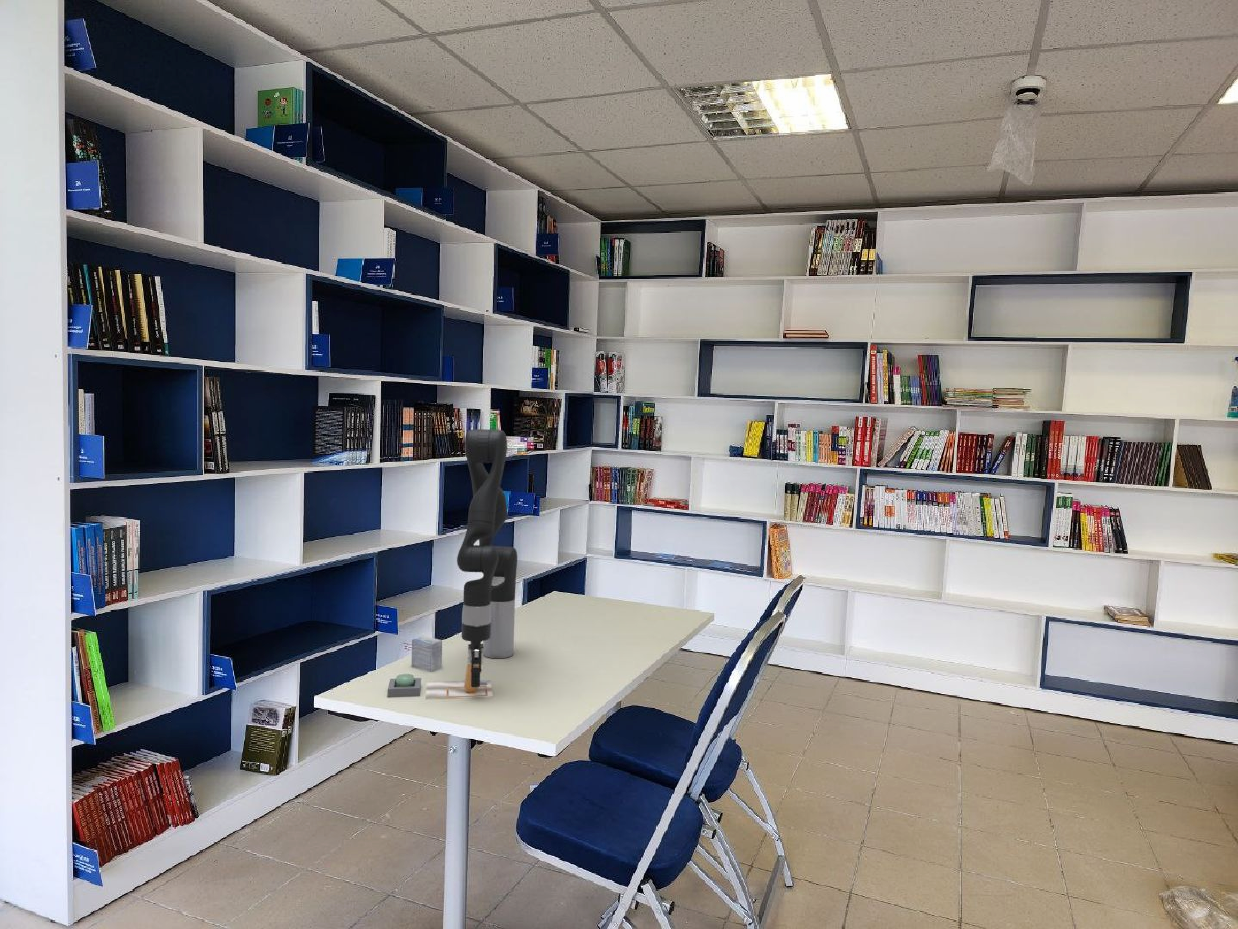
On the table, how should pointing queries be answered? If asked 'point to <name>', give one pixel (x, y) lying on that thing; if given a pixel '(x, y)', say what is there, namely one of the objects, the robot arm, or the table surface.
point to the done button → (405, 680)
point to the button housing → (404, 689)
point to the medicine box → (427, 653)
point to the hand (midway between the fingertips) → (474, 681)
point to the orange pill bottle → (469, 678)
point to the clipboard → (456, 690)
